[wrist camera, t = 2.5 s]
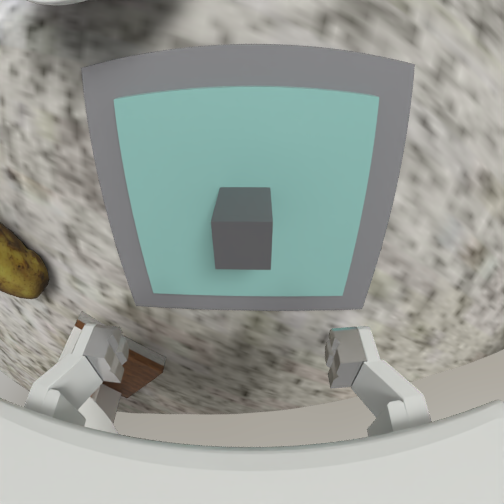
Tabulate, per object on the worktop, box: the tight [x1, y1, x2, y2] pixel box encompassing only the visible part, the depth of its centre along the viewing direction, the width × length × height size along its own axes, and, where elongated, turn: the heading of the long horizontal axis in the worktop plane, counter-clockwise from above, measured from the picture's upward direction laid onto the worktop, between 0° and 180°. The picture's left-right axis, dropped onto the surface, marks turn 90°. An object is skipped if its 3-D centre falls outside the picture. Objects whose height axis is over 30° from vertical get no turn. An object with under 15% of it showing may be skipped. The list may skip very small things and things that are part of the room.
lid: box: [114, 86, 379, 296], centre depth 17 cm, size 15×15×5 cm
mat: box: [81, 44, 415, 311], centre depth 20 cm, size 20×20×1 cm
